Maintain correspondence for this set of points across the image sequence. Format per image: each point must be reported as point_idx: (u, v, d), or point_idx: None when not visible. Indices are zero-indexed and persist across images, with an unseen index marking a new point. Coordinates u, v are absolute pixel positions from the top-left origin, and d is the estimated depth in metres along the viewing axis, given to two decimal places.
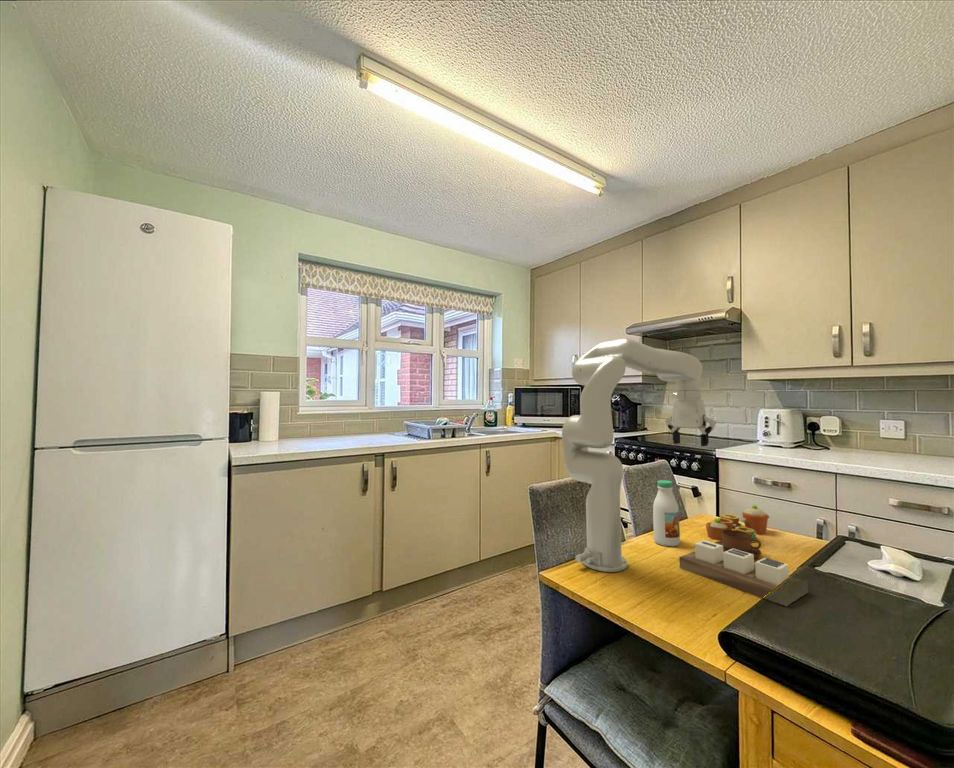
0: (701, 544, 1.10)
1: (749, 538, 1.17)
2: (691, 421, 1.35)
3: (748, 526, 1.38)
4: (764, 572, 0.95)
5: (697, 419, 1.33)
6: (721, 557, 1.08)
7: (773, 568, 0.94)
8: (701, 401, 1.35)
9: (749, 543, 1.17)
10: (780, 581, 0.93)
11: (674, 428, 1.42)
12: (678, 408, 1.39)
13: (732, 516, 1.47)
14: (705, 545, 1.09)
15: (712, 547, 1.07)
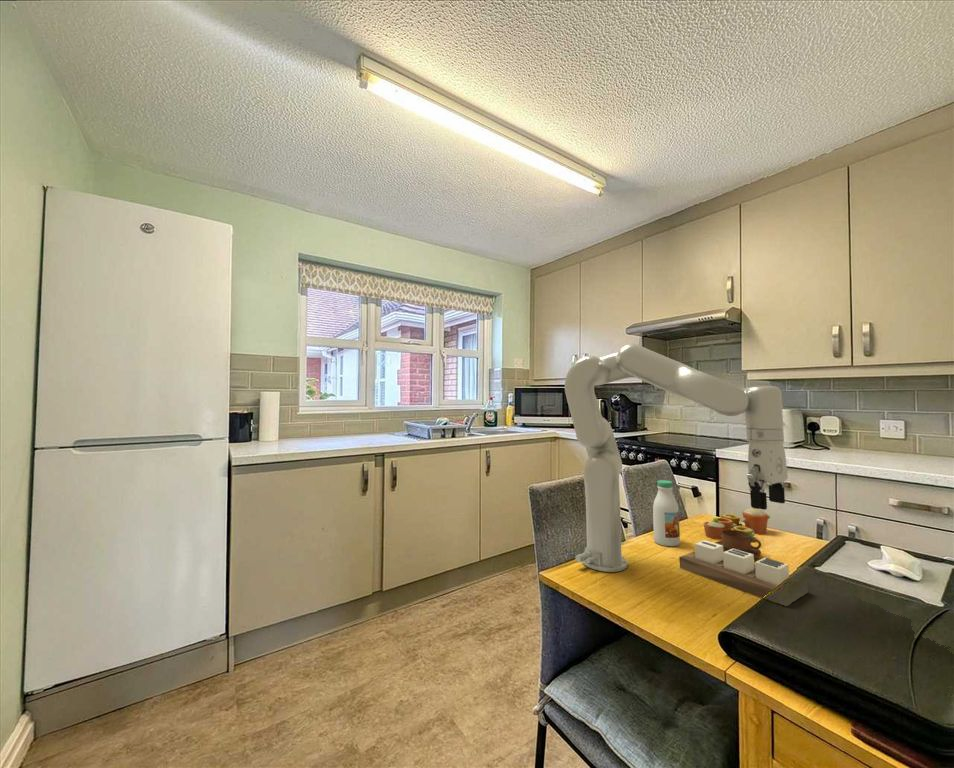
0: (701, 544, 1.10)
1: (749, 538, 1.17)
2: (783, 472, 0.97)
3: (748, 526, 1.39)
4: (764, 572, 0.95)
5: (786, 468, 0.98)
6: (721, 557, 1.08)
7: (773, 568, 0.94)
8: None
9: (749, 543, 1.17)
10: (780, 581, 0.93)
11: (764, 486, 0.94)
12: (774, 455, 0.95)
13: (733, 516, 1.47)
14: (705, 545, 1.09)
15: (712, 547, 1.07)
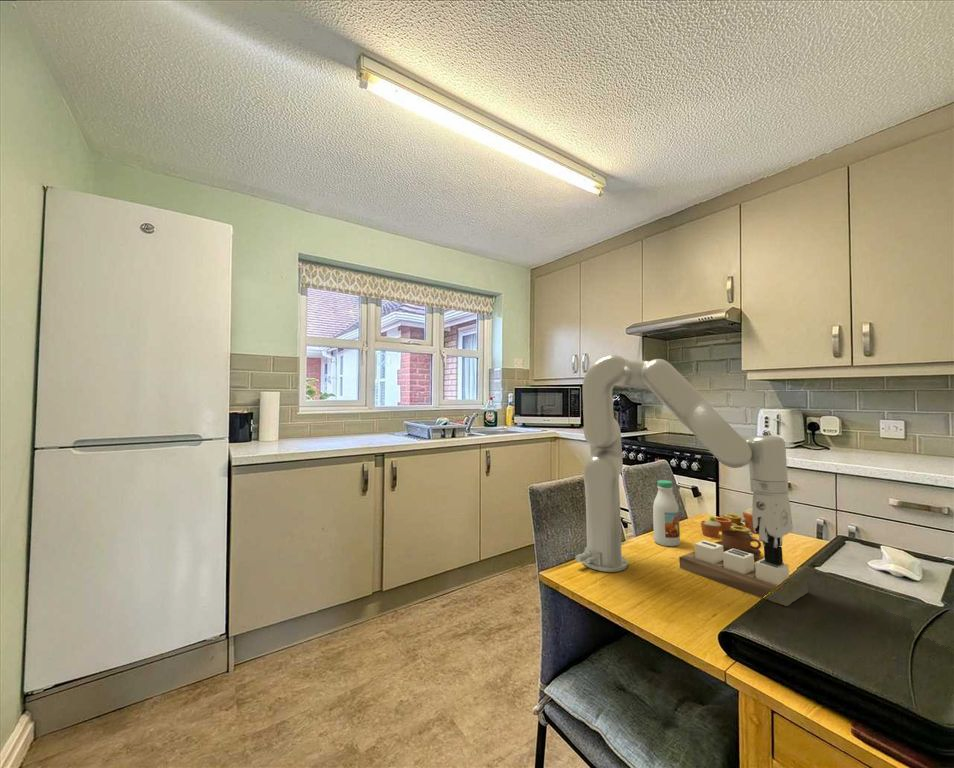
0: (701, 544, 1.10)
1: (749, 538, 1.17)
2: (788, 524, 0.95)
3: (747, 526, 1.39)
4: (764, 572, 0.95)
5: (791, 519, 0.97)
6: (721, 557, 1.08)
7: (773, 568, 0.94)
8: None
9: (749, 543, 1.17)
10: (780, 581, 0.93)
11: (776, 541, 0.95)
12: (779, 508, 0.93)
13: (735, 516, 1.48)
14: (705, 545, 1.09)
15: (712, 547, 1.07)
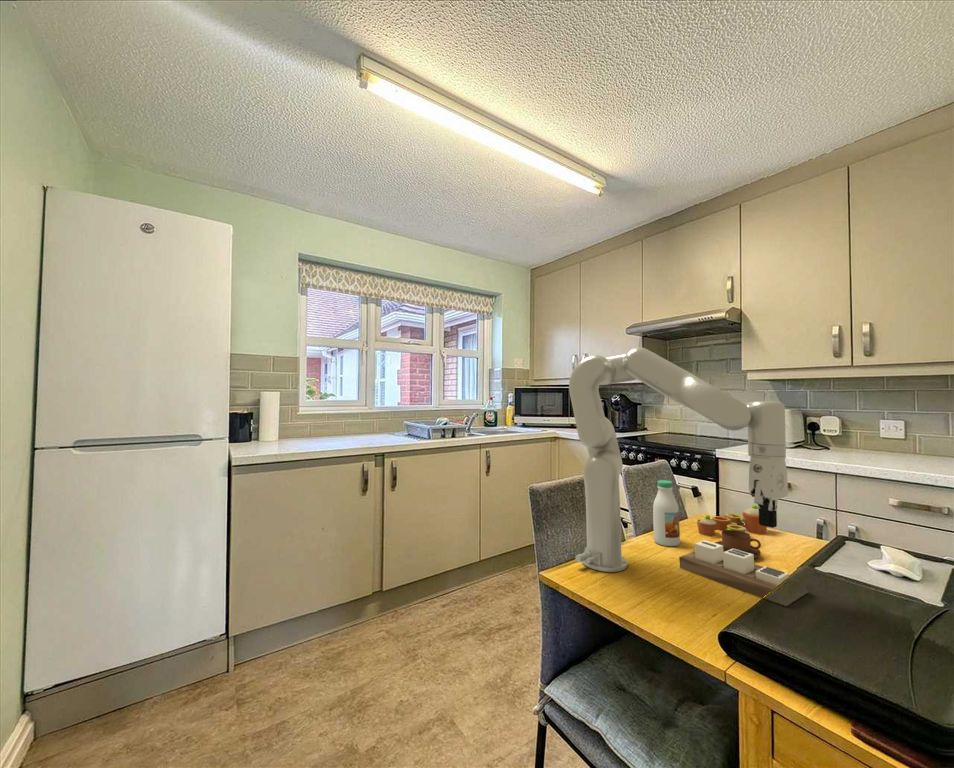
0: (701, 544, 1.10)
1: (749, 538, 1.17)
2: (784, 488, 0.96)
3: (746, 525, 1.39)
4: None
5: (787, 484, 0.97)
6: (721, 557, 1.08)
7: (773, 577, 0.94)
8: None
9: (749, 543, 1.17)
10: None
11: (771, 504, 0.95)
12: (775, 471, 0.94)
13: (737, 516, 1.48)
14: (705, 545, 1.09)
15: (712, 547, 1.07)
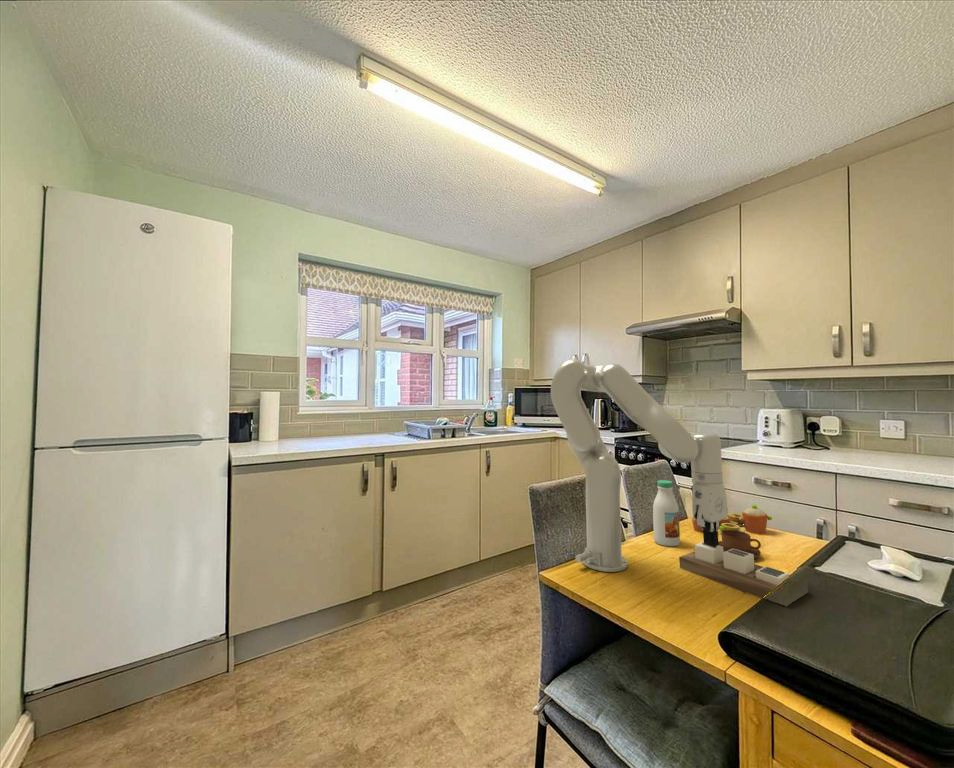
0: (701, 545, 1.10)
1: (749, 538, 1.17)
2: (723, 510, 1.08)
3: (745, 525, 1.40)
4: None
5: (726, 506, 1.09)
6: (721, 558, 1.08)
7: (773, 577, 0.94)
8: None
9: (749, 543, 1.16)
10: None
11: (712, 525, 1.07)
12: (714, 497, 1.06)
13: (740, 516, 1.48)
14: (705, 546, 1.09)
15: (712, 548, 1.07)
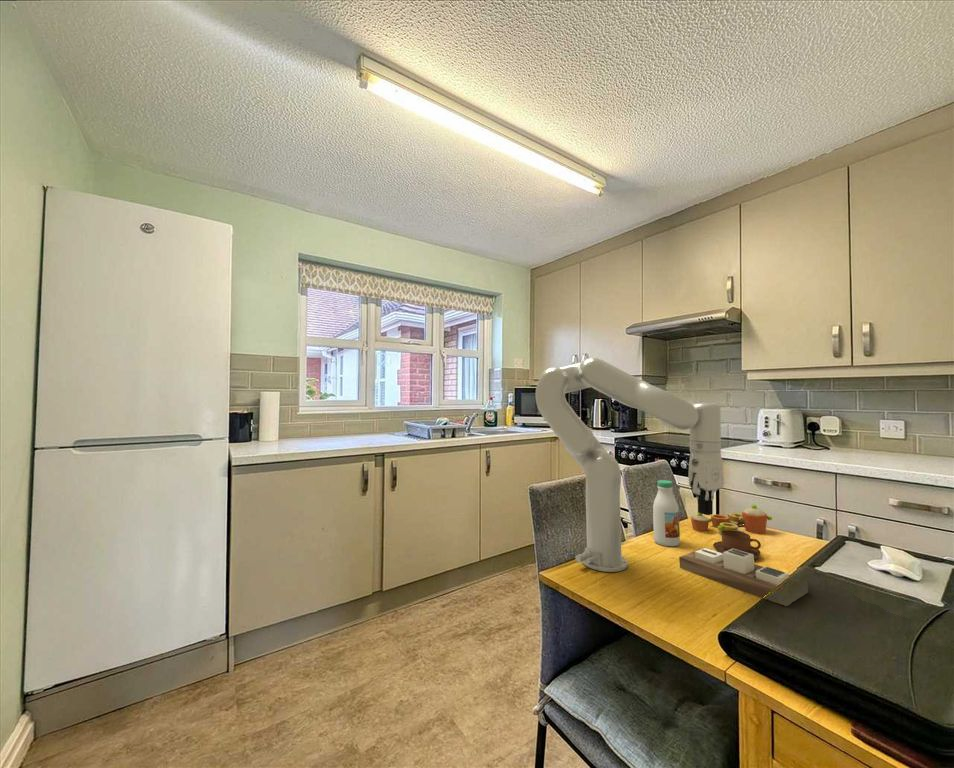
0: (702, 552, 1.10)
1: (749, 538, 1.17)
2: (719, 480, 1.09)
3: (745, 525, 1.40)
4: None
5: (723, 476, 1.10)
6: None
7: (773, 577, 0.94)
8: None
9: (749, 543, 1.16)
10: None
11: (707, 494, 1.08)
12: (711, 465, 1.07)
13: (740, 515, 1.48)
14: (705, 553, 1.08)
15: (712, 555, 1.07)
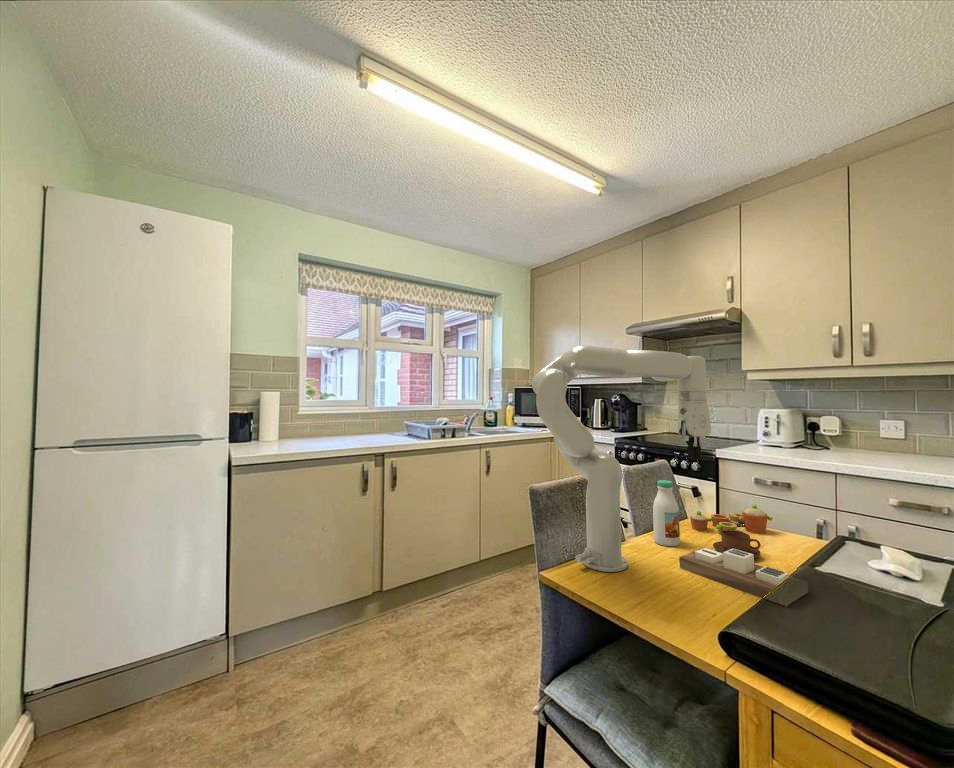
0: (702, 552, 1.10)
1: (748, 538, 1.16)
2: (706, 427, 1.16)
3: (745, 524, 1.40)
4: None
5: (710, 424, 1.17)
6: None
7: (773, 577, 0.94)
8: None
9: (748, 543, 1.16)
10: None
11: (695, 440, 1.15)
12: (697, 413, 1.14)
13: (742, 515, 1.48)
14: (705, 553, 1.08)
15: (712, 555, 1.07)
